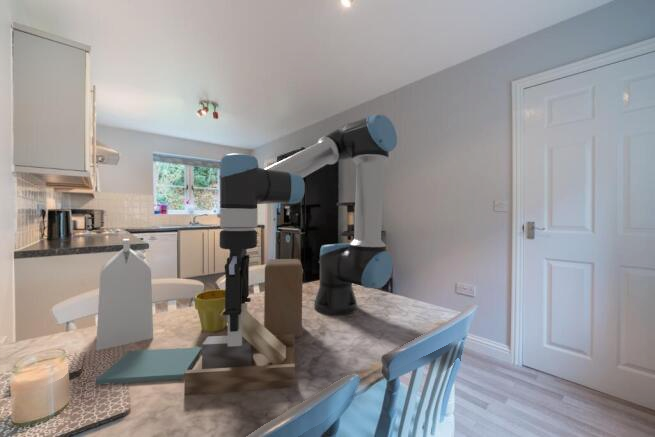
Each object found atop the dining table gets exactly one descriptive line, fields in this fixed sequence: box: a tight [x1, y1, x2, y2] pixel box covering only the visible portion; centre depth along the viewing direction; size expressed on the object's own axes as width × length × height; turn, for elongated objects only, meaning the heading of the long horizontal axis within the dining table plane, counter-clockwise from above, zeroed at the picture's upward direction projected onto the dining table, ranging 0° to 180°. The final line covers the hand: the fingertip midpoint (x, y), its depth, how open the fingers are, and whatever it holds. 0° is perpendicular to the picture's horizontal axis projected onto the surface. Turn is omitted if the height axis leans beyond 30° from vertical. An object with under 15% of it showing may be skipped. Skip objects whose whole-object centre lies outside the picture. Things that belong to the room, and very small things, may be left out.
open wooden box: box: [183, 334, 296, 396], centre depth 57 cm, size 20×14×7 cm
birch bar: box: [220, 306, 286, 365], centre depth 57 cm, size 16×5×2 cm
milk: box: [95, 238, 154, 352], centre depth 72 cm, size 12×12×26 cm
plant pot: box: [194, 288, 228, 333], centre depth 78 cm, size 10×10×10 cm
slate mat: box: [94, 346, 202, 386], centre depth 58 cm, size 16×11×1 cm
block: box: [263, 258, 304, 339], centre depth 76 cm, size 10×10×20 cm
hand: (237, 338), depth 57 cm, fingers closed on birch bar, 5 cm apart
